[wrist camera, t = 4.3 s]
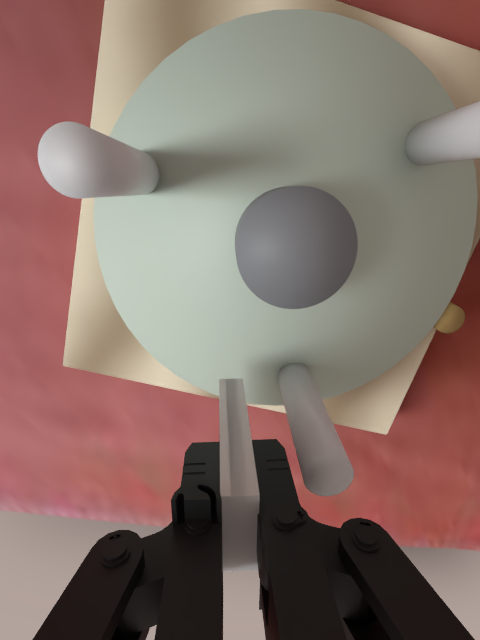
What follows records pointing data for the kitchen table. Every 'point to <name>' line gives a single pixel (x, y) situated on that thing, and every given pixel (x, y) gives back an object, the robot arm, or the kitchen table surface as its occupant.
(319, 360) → the green peg holder
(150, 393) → the kitchen table surface
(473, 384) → the kitchen table surface
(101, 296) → the stand base
